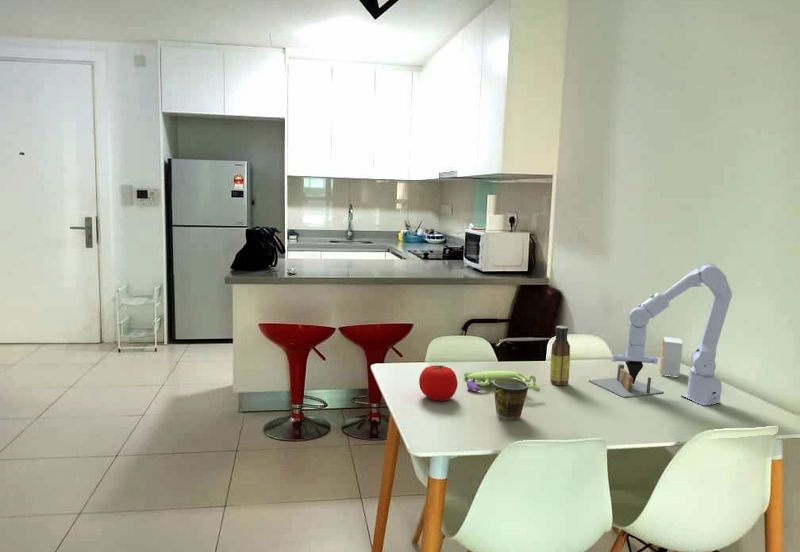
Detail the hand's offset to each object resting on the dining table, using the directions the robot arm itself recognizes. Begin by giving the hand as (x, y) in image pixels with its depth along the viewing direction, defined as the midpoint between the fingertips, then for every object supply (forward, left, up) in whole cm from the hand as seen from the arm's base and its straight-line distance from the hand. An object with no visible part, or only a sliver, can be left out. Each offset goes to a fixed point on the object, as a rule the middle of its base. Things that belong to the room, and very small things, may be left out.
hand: (632, 382), depth 209 cm
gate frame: (+3, 0, -2) cm, 4 cm away
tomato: (+10, +68, -3) cm, 68 cm away
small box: (+10, -27, -3) cm, 29 cm away
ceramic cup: (-10, +56, -3) cm, 57 cm away
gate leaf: (+2, +1, -2) cm, 3 cm away
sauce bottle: (+12, +21, -3) cm, 24 cm away
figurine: (+14, +42, -3) cm, 45 cm away
